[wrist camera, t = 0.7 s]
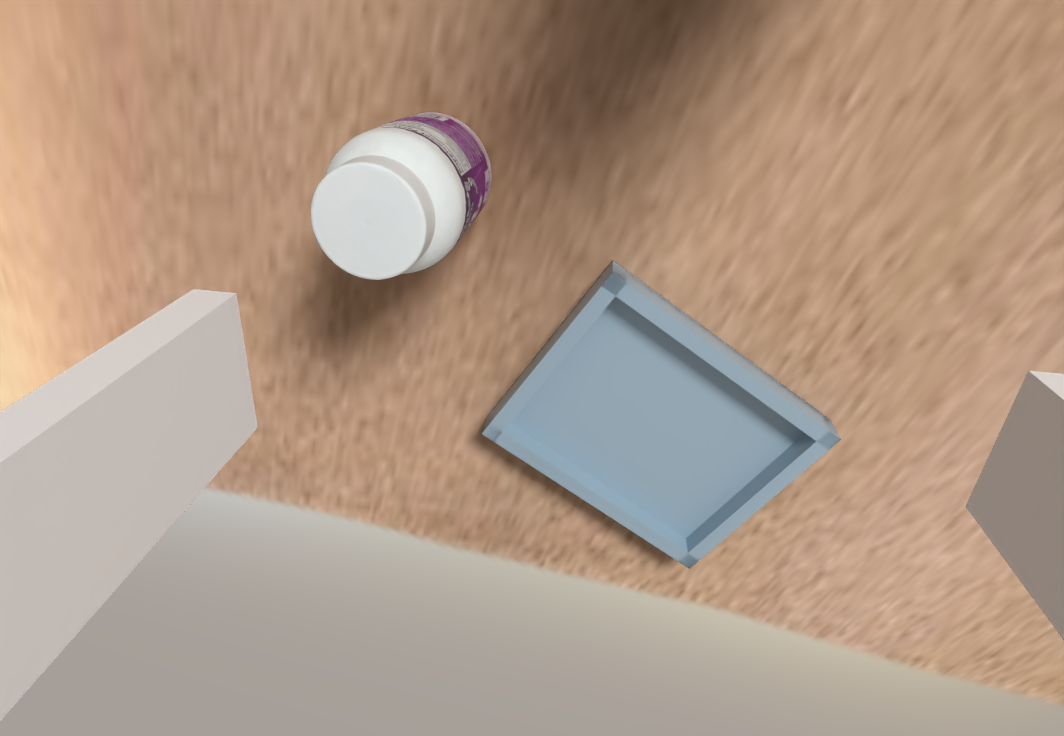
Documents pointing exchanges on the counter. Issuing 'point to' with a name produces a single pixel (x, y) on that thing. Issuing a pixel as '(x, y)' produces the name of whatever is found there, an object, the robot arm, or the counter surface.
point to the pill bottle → (401, 195)
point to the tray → (657, 420)
